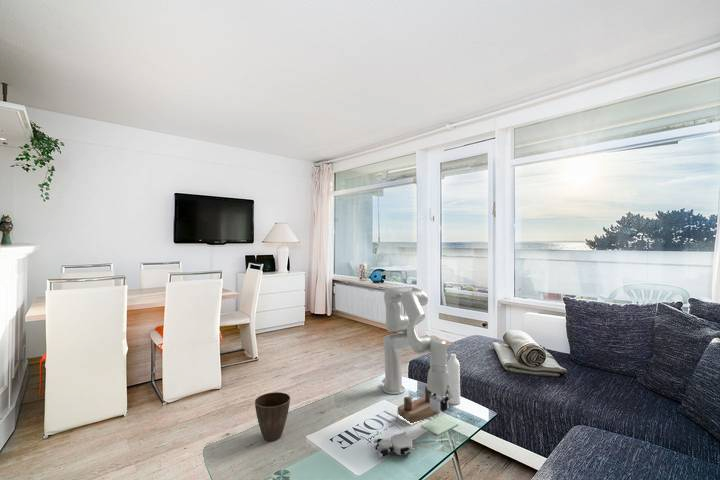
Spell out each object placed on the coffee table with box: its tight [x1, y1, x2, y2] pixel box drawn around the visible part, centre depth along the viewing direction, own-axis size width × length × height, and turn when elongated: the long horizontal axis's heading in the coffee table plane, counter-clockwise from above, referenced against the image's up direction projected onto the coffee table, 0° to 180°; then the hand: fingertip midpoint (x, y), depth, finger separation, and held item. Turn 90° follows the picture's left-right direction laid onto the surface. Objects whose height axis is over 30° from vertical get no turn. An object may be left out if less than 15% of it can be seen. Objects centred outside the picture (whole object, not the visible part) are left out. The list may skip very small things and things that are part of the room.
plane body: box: [397, 385, 441, 423], centre depth 165 cm, size 9×20×12 cm, turn 127°
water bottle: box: [447, 353, 461, 405], centre depth 179 cm, size 9×6×25 cm
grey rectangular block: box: [430, 394, 450, 414], centre depth 155 cm, size 5×7×5 cm
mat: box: [420, 415, 459, 436], centre depth 155 cm, size 10×14×1 cm
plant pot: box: [254, 391, 291, 442], centre depth 147 cm, size 15×15×16 cm
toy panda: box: [373, 431, 415, 458], centre depth 136 cm, size 12×4×15 cm
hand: (439, 407), depth 155 cm, fingers closed on grey rectangular block, 5 cm apart
